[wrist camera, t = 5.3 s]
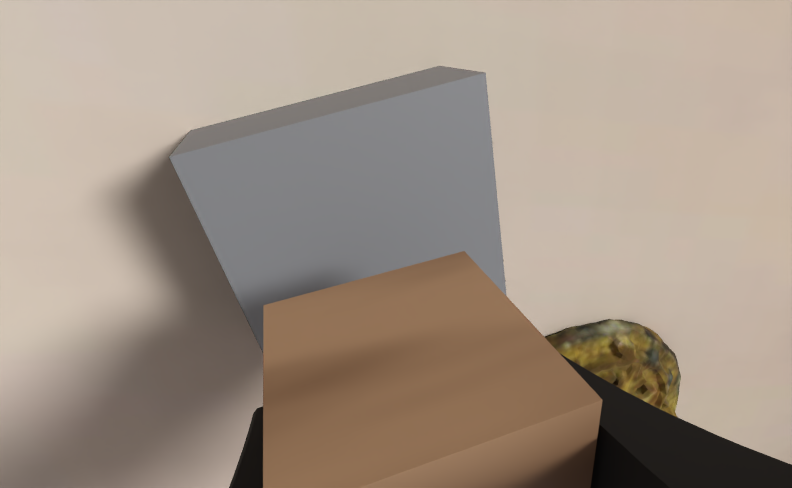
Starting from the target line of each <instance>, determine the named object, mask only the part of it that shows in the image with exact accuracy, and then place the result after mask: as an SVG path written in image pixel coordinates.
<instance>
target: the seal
mask: <svg viewBox="0 0 792 488" xmlns="http://www.w3.org/2000/svg"><path fill="white" fill-rule="evenodd" d="M545 338H546V339H547V341H548V342H549V343H550V344H551V345H552V346H553V347H554V348H555V349H556V350H557V351H558V352H559V353H560V354H562V355H563V356H565V357H567V358H568V359H570V360H572V361H573V362H575V363H577V364H578V365H580V366H582V367H583V368H585V369H587V370H589V371H590V372H592V373H594V374H595V375H597V376H599V377H601V378H602V379H604V380H606V381H608V382H609V383H611V384H613V385H615V386H617V387H618V388H620V389H622V390H624V391H626V392H628V393H630V394H632V395H633V396H635V397H637V398H639V399H641V400H643V401H645V402H647V403H649V404H651V405H653V406H655V407H657V408H659V409H661V410H663V411H665V412H667V413H669V414H671V415H673V416H675V417H677V416H676V413H675V409H676V405H677V401H678V395H679V385H680V380H681V376H680V372H679V367H678V363H677V359H676V356H675V353H674V352H673V351H672V350H671V349H669V347H668V346H667V345H666V344H665V343H664V342H663V341H662V339H661V338H660V337H659V336H658V334H656V333H655V332H654V331H652V330H651V329H649V328H647V327H645V326H642V325H640V324H637V323H632V322H627V321H623V320H611V319H608V320H603V321H599V322H596V323H591V324H587V325H582V326H574V327H570V328H567V329H564V330H563V331H561V332H559V333H557V334H554V335H550V336H546V337H545ZM677 418H678V417H677Z"/></svg>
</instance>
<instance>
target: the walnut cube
mask: <svg viewBox="0 0 792 488" xmlns="http://www.w3.org/2000/svg"><path fill="white" fill-rule="evenodd" d="M601 408H602V399H601V398H600V397H599V395H598V394H597V393H596V392H595V391H594V390H593V389H592V388H591V387H590V386H589V385H588V384H587V383H586V381H585V380H584V379H583V378H582V377H581V376H580V375H579V374H578V373H577V372H576V371H575V370H574V369H573V367H572V366H571V365H570V364H569V363H568V362H567V361H566V360H565V359H564V358H563V357H562V356H561V355H560V353H559V352H558V351H557V350H556V349H555V348H554V347H553V346H552V345H551V344H550V343H549V342H548V341H547V339H546V338H545V337H544V336H543V335H542V334H541V333H540V332H539V331H538V330H537V329H536V328H535V327H534V325H533V324H532V323H531V322H530V321H529V320H528V319H527V318H526V317H525V316H524V315H523V314H522V313H521V311H520V310H519V309H518V308H517V307H516V306H515V305H514V304H513V303H512V302H511V301H510V300H509V299H508V297H507V296H506V295H505V294H504V293H503V292H502V291H501V290H500V289H499V288H498V287H497V286H496V285H495V283H494V282H493V281H492V280H491V279H490V278H489V277H488V276H487V275H486V274H485V273H484V272H483V271H482V269H481V268H480V267H479V266H478V265H477V264H476V263H475V262H474V261H473V260H472V259H471V258H470V257H469V255H468V254H467V253H466V252H465V251H462V252H459V253H455V254H451V255H447V256H444V257H440V258H436V259H433V260H429V261H425V262H422V263H418V264H414V265H411V266H407V267H403V268H399V269H396V270H392V271H388V272H385V273H381V274H377V275H374V276H370V277H366V278H363V279H359V280H355V281H351V282H348V283H344V284H340V285H337V286H333V287H329V288H326V289H322V290H318V291H314V292H311V293H307V294H303V295H300V296H296V297H292V298H289V299H285V300H281V301H278V302H274V303H270V304H266V305H263V488H590V487H591V480H592V473H593V466H594V458H595V451H596V444H597V437H598V429H599V422H600V415H601Z"/></svg>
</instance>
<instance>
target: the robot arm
mask: <svg viewBox="0 0 792 488" xmlns="http://www.w3.org/2000/svg"><path fill="white" fill-rule="evenodd" d="M560 355H561V356H562V357H563V358H564V359H565V360H566V361H567V362H568V363H569V364H570V365H571V366H572V367H573V369H574V370H575V371H576V372H577V373H578V374H579V375H580V376H581V377H582V378H583V379H584V380H585V381H586V383H587V384H588V385H589V386H590V387H591V388H592V389H593V390H594V391H595V392H596V393H597V394H598V395H599V397H600V398H601V399H602V408H601V415H600V422H599V429H598V437H597V444H596V451H595V458H594V466H593V473H592V480H591V487H590V488H792V465H791V464H788V463H785V462H783V461H780V460H778V459H775V458H772V457H770V456H767V455H765V454H762V453H760V452H757V451H754V450H752V449H749V448H747V447H744V446H741V445H739V444H737V443H734V442H732V441H729V440H727V439H725V438H722V437H720V436H717V435H715V434H713V433H711V432H708V431H706V430H704V429H702V428H699V427H697V426H695V425H693V424H691V423H688V422H686V421H684V420H682V419H680V418H677V417H675V416H673V415H671V414H669V413H667V412H665V411H663V410H661V409H659V408H657V407H655V406H653V405H651V404H649V403H647V402H645V401H643V400H641V399H639V398H637V397H635V396H633V395H632V394H630V393H628V392H626V391H624V390H622V389H620V388H618V387H617V386H615V385H613V384H611V383H609V382H608V381H606V380H604V379H602V378H601V377H599V376H597V375H595V374H594V373H592V372H590V371H589V370H587V369H585V368H583V367H582V366H580V365H578V364H577V363H575V362H573V361H572V360H570V359H568V358H567V357H565V356H563V355H562V354H560ZM229 488H263V407H260V408H257V409H256V411H255V412H254V414H253V417H252V421H251V424H250V428H249V431H248V434H247V438H246V441H245V444H244V447H243V450H242V453H241V456H240V459H239V462H238V465H237V468H236V471H235V473H234V476H233V479H232V481H231V484H230V487H229Z"/></svg>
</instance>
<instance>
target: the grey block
mask: <svg viewBox="0 0 792 488" xmlns="http://www.w3.org/2000/svg"><path fill="white" fill-rule="evenodd" d="M169 158H170V160H171V162H172V164H173V166H174V168H175V171H176V173H177V175H178V177H179V179H180V181H181V183H182V185H183V187H184V189H185V191H186V193H187V196H188V198H189V200H190V202H191V204H192V206H193V208H194V210H195V212H196V214H197V216H198V218H199V221H200V223H201V225H202V227H203V229H204V231H205V233H206V235H207V237H208V239H209V241H210V243H211V246H212V248H213V250H214V252H215V254H216V256H217V258H218V260H219V262H220V264H221V266H222V268H223V271H224V273H225V275H226V277H227V279H228V281H229V283H230V285H231V287H232V289H233V291H234V293H235V296H236V298H237V300H238V302H239V304H240V306H241V308H242V310H243V312H244V314H245V316H246V318H247V321H248V323H249V325H250V327H251V329H252V331H253V333H254V335H255V337H256V339H257V341H258V343H259V346H260V348H261V350H262V352H263V305H266V304H270V303H274V302H278V301H281V300H285V299H289V298H292V297H296V296H300V295H303V294H307V293H311V292H314V291H318V290H322V289H326V288H329V287H333V286H337V285H340V284H344V283H348V282H351V281H355V280H359V279H363V278H366V277H370V276H374V275H377V274H381V273H385V272H388V271H392V270H396V269H399V268H403V267H407V266H411V265H414V264H418V263H422V262H425V261H429V260H433V259H436V258H440V257H444V256H447V255H451V254H455V253H459V252H462V251H465V252H466V253H467V254H468V255H469V257H470V258H471V259H472V260H473V261H474V262H475V263H476V264H477V265H478V266H479V267H480V268H481V269H482V271H483V272H484V273H485V274H486V275H487V276H488V277H489V278H490V279H491V280H492V281H493V282H494V283H495V285H496V286H497V287H498V288H499V289H500V290H501V291H502V292H503V293H504V294H505V295H506V287H505V276H504V265H503V255H502V244H501V233H500V222H499V212H498V201H497V190H496V180H495V169H494V158H493V148H492V137H491V126H490V116H489V105H488V94H487V84H486V73H484V72H477V71H471V70H464V69H457V68H451V67H444V66H438V67H434V68H430V69H426V70H422V71H418V72H414V73H411V74H407V75H403V76H399V77H395V78H391V79H387V80H383V81H380V82H376V83H372V84H368V85H364V86H360V87H356V88H353V89H349V90H345V91H341V92H337V93H333V94H329V95H326V96H322V97H318V98H314V99H310V100H306V101H302V102H299V103H295V104H291V105H287V106H283V107H279V108H275V109H271V110H268V111H264V112H260V113H256V114H252V115H248V116H244V117H241V118H237V119H233V120H229V121H225V122H221V123H217V124H214V125H210V126H206V127H202V128H198V129H194V130H191V131H190V132H189V133H188V134H187V136H186V137H185V138H184V139H183V140H182V142H181V143H180V144H179V145H178V147H177V148H176V149H175V150H174V151H173V153H172V154H171V155H170V156H169Z"/></svg>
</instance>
